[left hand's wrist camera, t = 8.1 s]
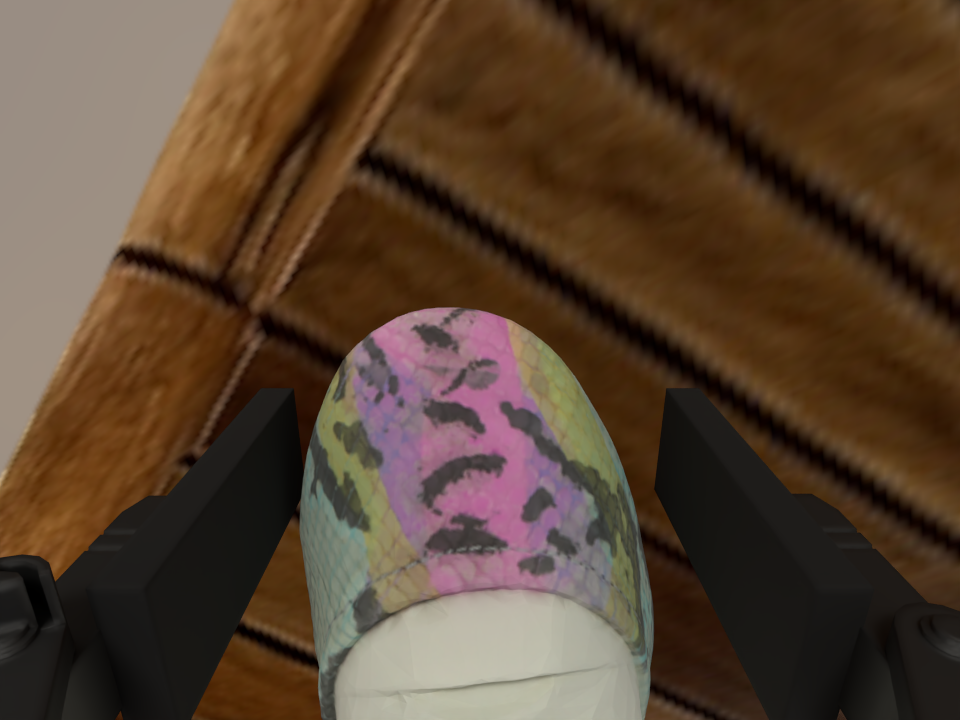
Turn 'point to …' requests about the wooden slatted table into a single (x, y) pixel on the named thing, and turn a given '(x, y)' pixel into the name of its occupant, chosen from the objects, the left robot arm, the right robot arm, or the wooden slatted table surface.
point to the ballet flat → (471, 534)
